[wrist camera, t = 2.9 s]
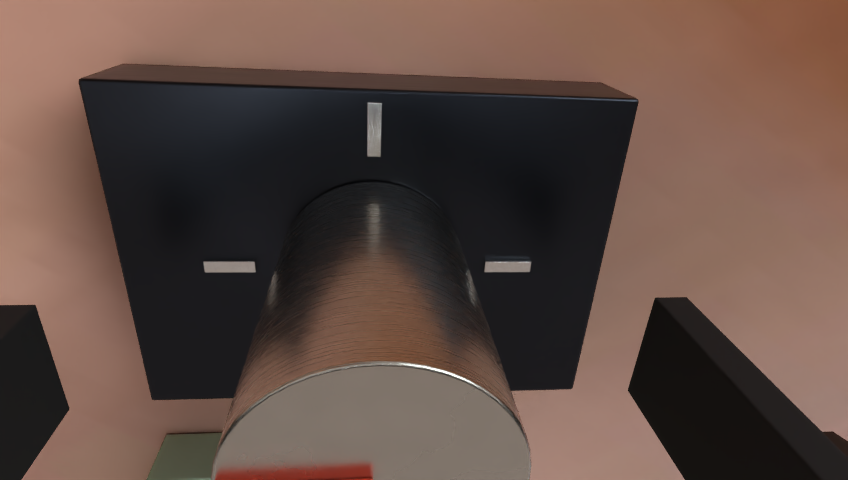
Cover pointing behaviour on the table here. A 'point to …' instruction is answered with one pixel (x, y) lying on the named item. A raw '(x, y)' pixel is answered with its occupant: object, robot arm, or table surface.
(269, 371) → the dial
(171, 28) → the table surface
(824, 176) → the table surface
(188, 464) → the button box
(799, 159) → the table surface
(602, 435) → the table surface
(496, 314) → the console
